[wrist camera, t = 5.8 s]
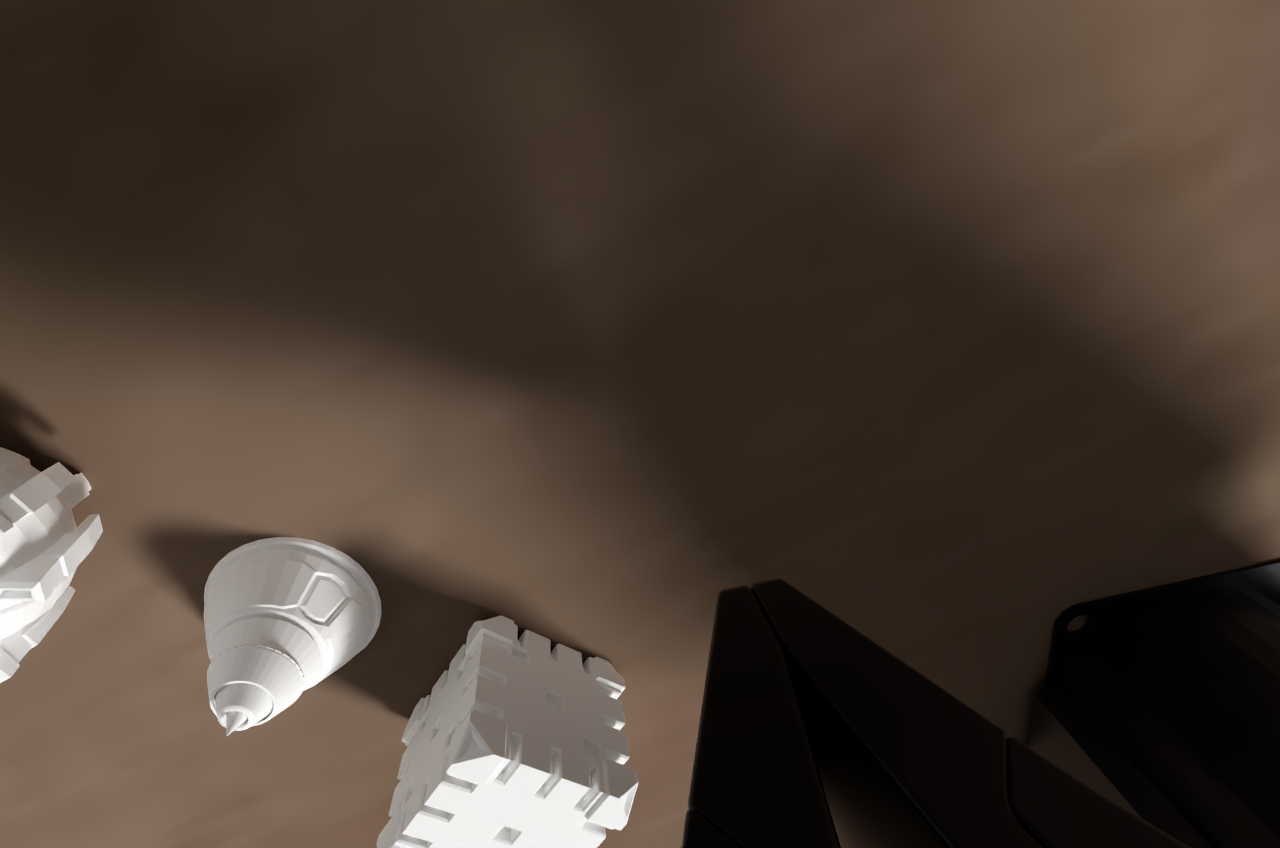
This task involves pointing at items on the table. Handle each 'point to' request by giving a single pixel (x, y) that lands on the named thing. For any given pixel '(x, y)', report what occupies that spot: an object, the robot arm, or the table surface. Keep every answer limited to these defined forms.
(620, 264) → the table surface
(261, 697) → the game pieces
